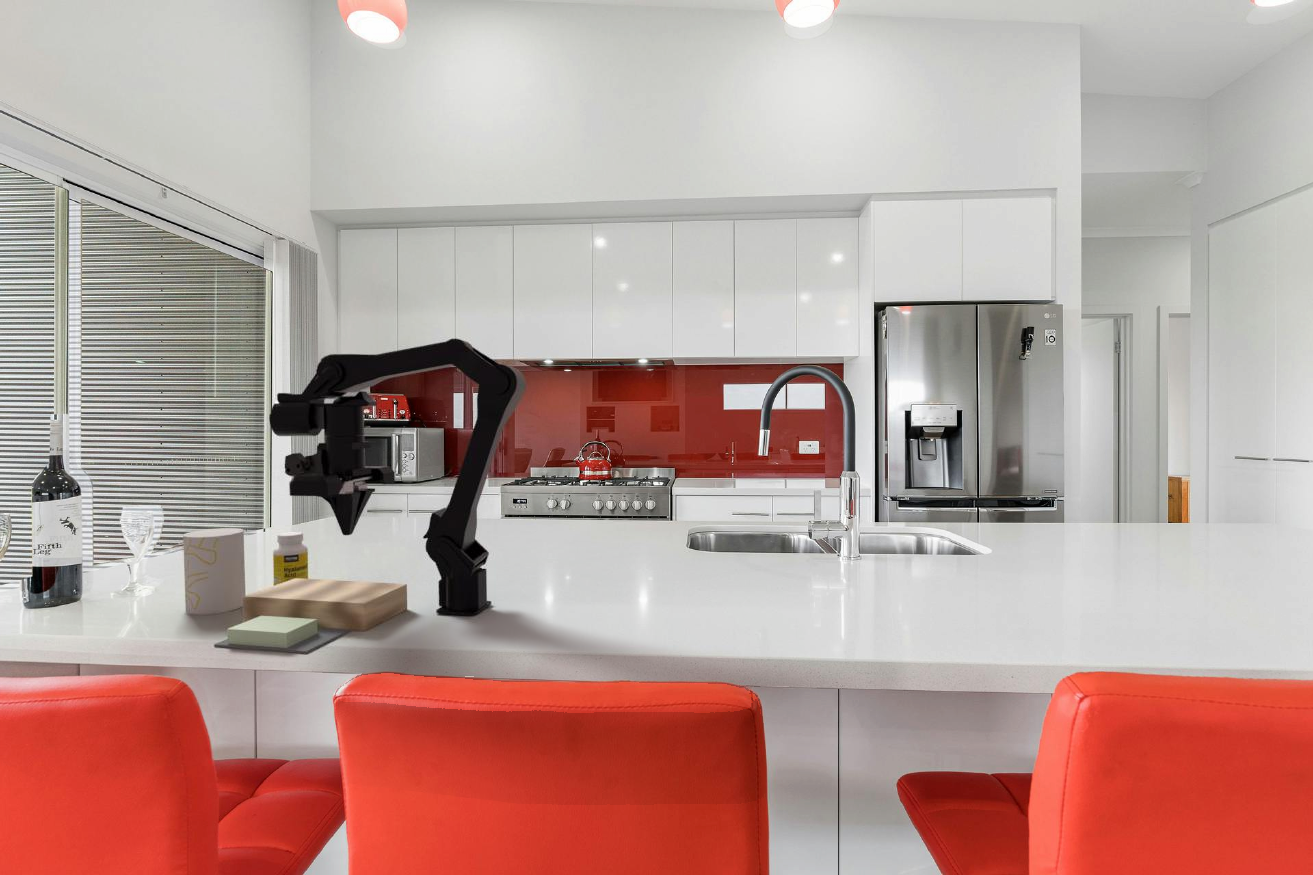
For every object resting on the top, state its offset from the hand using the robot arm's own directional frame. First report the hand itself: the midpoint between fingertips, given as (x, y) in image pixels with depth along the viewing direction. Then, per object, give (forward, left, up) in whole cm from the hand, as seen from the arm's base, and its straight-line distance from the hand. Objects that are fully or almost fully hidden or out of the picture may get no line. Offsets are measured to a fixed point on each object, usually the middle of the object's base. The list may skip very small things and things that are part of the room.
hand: (347, 534), depth 109 cm
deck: (+1, +4, -12) cm, 12 cm away
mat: (0, +14, -12) cm, 19 cm away
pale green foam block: (+1, +15, -10) cm, 18 cm away
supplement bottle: (+18, -9, -12) cm, 23 cm away
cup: (+22, +3, -12) cm, 25 cm away
